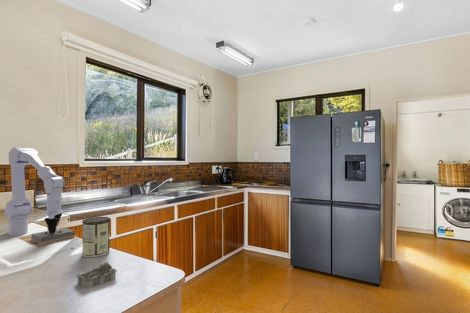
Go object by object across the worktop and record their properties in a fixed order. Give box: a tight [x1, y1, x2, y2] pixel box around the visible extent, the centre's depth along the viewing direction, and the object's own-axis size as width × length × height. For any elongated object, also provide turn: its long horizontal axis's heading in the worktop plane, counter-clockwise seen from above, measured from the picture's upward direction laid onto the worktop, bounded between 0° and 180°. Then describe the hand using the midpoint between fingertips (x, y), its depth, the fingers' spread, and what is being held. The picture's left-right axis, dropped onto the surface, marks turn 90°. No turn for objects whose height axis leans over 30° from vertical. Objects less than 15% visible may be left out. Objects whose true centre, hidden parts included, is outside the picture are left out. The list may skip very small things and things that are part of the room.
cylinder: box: [47, 222, 60, 235], centre depth 127 cm, size 4×4×6 cm
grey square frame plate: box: [30, 227, 75, 244], centre depth 127 cm, size 14×10×3 cm
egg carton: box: [76, 261, 118, 289], centre depth 87 cm, size 11×8×4 cm
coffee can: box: [81, 216, 111, 258], centre depth 111 cm, size 10×10×14 cm
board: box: [16, 234, 80, 248], centre depth 128 cm, size 24×17×1 cm
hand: (53, 231), depth 127 cm, fingers open, 7 cm apart
